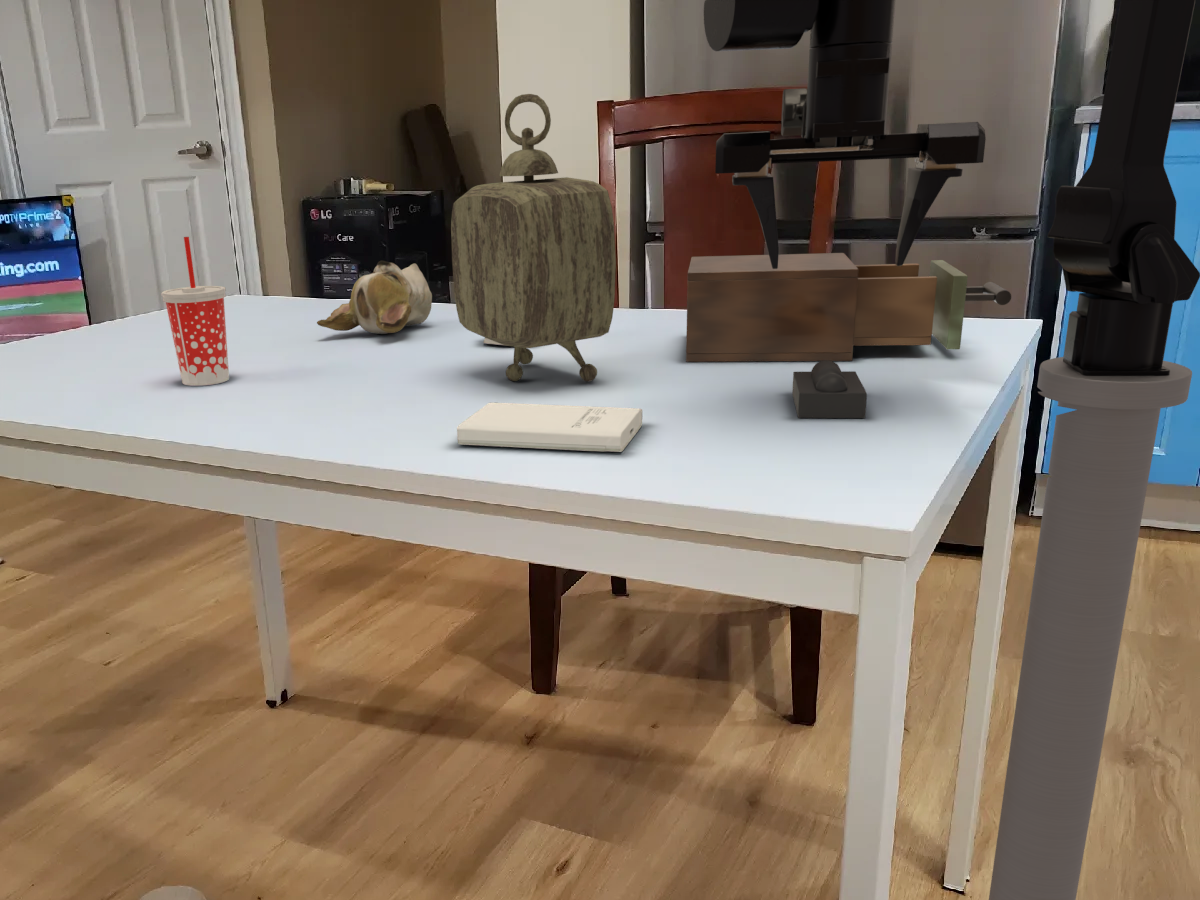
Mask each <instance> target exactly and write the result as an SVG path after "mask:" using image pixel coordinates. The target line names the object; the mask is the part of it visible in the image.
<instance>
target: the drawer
mask: <svg viewBox="0 0 1200 900" xmlns="http://www.w3.org/2000/svg"><path fill="white" fill-rule="evenodd" d="M854 265H855V266H856V267H857V268H858V269H859V272H858V286H857V300H856V314H855V328H854V342H853V347H854V346H855V347H856V346H857V347H859V346H860V347H861V346H862V347H864V346H931V344H932V336H933V337H934V339H936V340H937V341H938V342H939V343H940V345H942V346H943V348H945V349H946V350H961V344H962V334H963V326H964V325H963V324H964V315H965V306H966V302H995V303H996V304H998V306H999V305H1000V306H1005V305H1008V304H1009V303H1010V302H1011V300H1012V293H1011V292H1010V291H1009V290H1008V289H1006V288H1004V287H1002V286H1000V285H998V284H997V283H995V282H993V281H987V282H985V283H984V284H983V285H980V286H978V285H977V286H976V285H975V286H968V278H969V277H968V275H967V274H966V273H964V272H963V271H961V270H959V269H958V268H956V267H955V266H953V265H951V264H950V263H948V262H947V261H945V260H943V259H939V260H938V259H936V260H935V259H933V260H932V259H931V260H930V266H929V274H928V275H929V276H919V274H920V273H919V271H920V264H919V263H903V265H902V266H897V265H896V264H895V263H883V264H881V263H880V264H877V263H876V264H854Z"/></svg>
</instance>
